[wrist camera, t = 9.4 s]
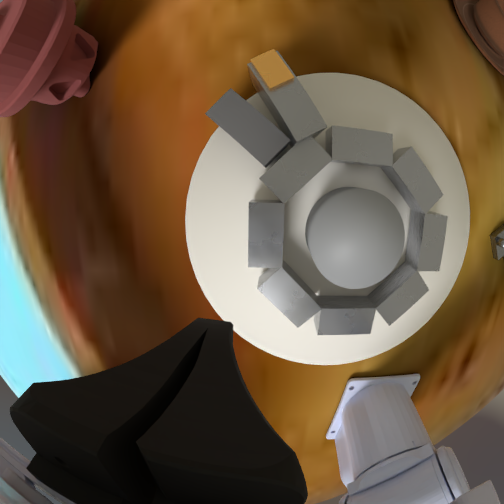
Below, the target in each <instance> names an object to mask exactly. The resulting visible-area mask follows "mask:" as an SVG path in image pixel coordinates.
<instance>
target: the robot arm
mask: <svg viewBox="0 0 504 504" xmlns="http://www.w3.org/2000/svg"><path fill="white" fill-rule="evenodd" d="M419 380H420V375H419V374H409V375H398V376H386V377H369V378H352V379H350V380H349V381H348V382H347V385H346V388H345V390H344V393H343V396H342V398H341V401H340V403H339V406H338V408H337V411H336V413H335V415H334V418H333V420H332V423H331V425H330V427H329V429H328V432H327V434H326V438H327V439H335V444H336V450H337V456H338V462H339V469H340V476H341V479H342V482H343V483H344V485H345V486H346V487H347V489H348V494H346V495H344V496H343V497H342V498H341V499H340V501H339V503H338V504H500V501H499V499H498V496H497V494H496V491H495V489H494V487H493V484H492V482H491V480H488V481H486V482H485V483H483V484H481V485H479V486H477V487H475V488H473V489H472V490H470V488H469V485H468V483H467V480H466V478H465V475H464V473H463V471H462V469H461V467H460V464H459V462H458V460H457V458H456V456H455V454H454V452H453V450H452V449H451V447H444V446H441V447H440V448H438V449H437V450H436V449H435V448H434V446H433V445H432V442H431V440H430V438H429V436H428V433H427V431H426V429H425V427H424V425H423V423H422V420H421V418H420V416H419V414H418V412H417V410H416V408H415V406H414V404H413V402H412V400H411V398H410V397H411V395H412V393H413V392H414V390H415V388H416V386H417V384H418V382H419ZM351 386H353V387H351ZM10 414H11V417H12V420H13V422H14V423H15V425H16V426H17V428H18V429H19V431H20V432H21V434H22V435H23V436H24V438H25V439H26V440H27V441H28V443H29V444H30V445H31V446H32V448H33V449H34V450H35V451H36V455H35V456H34V458H33V459H32V461H29V460H28V459H27V458H25V457H24V456H22V455H21V454H20V453H19V452H17V451H16V450H15V449H14V448H12V447H11V446H10V445H9V444H8V443H6V442H5V441H4V440H3V439H2V438H0V504H53V503H52V502H51V501H50V500H49V499H48V498H46V497H45V496H43V495H42V494H41V493H39V492H38V491H37V490H36V488H35V486H37V487H38V488H39V489H41V490H42V491H44V492H45V493H47V494H48V495H50V496H51V497H53V498H54V499H56V500H57V501H59V502H61V503H62V504H304V503H305V502H306V499H307V496H308V493H307V486H306V481H305V478H304V474H303V472H302V469H301V466H300V464H299V461H298V459H297V456H296V454H295V452H294V451H293V450H292V449H291V448H290V447H289V446H288V445H287V444H286V443H285V442H284V441H283V440H282V438H281V437H280V436H279V435H278V434H277V433H276V432H275V430H274V429H273V428H272V427H271V425H270V424H269V423H268V421H267V420H266V419H265V417H264V416H263V414H262V413H261V411H260V410H259V408H258V407H257V405H256V403H255V402H254V400H253V398H252V397H251V395H250V393H249V391H248V389H247V387H246V385H245V383H244V380H243V378H242V375H241V373H240V370H239V367H238V364H237V361H236V357H235V353H234V349H233V324H232V323H231V322H228V321H219V320H211V319H203V318H197V319H196V320H195V321H193V322H192V323H191V324H189V325H188V326H186V327H185V328H184V329H182V330H181V331H180V332H178V333H177V334H175V335H174V336H173V337H171V338H170V339H168V340H167V341H165V342H164V343H162V344H160V345H159V346H157V347H155V348H154V349H152V350H150V351H149V352H147V353H145V354H143V355H141V356H139V357H137V358H135V359H133V360H131V361H129V362H127V363H124V364H122V365H119V366H117V367H114V368H111V369H108V370H105V371H102V372H99V373H96V374H92V375H88V376H84V377H79V378H74V379H69V380H62V381H52V382H40V383H33V384H32V385H31V386H30V387H29V388H28V389H27V390H26V391H25V392H24V393H23V394H22V395H21V397H20V398H19V399H18V400H17V401H16V402H15V403H14V404H13V405H12V406H11V407H10ZM34 485H35V486H34Z"/></svg>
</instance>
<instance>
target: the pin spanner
mask: <svg viewBox="0 0 504 504" xmlns="http://www.w3.org/2000/svg"><path fill="white" fill-rule="evenodd" d="M490 239H491V245H492V252H493V258H495V259H497V260H499V259H500V258H501V257H503V258H504V224H503V225H502V226H500V227H499V228H498V229H497V230H496V231H494V232H493V233H492V234H491V235H490Z"/></svg>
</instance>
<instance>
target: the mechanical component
mask: <svg viewBox="0 0 504 504" xmlns="http://www.w3.org/2000/svg"><path fill="white" fill-rule="evenodd" d="M75 17H76V6H75V3H74V1H73V0H3V1H2V2H1V3H0V117H9V116H11V115H14V114H15V113H17V112H18V111H20V110H21V109H22V108H23V107H24V106H25V105H26V104H27V103H28V102H29V101H30V100H34V101H38V102H40V103H45V104H50V105H57V104H60V103H62V102H64V101H66V100H67V99H69V98H70V97H71V96H72V95H74V96H77V97H83V96H85V95H86V94H87V92H88V91H89V89H90V78H89V74H90V72H91V70H92V68H93V65H94V63H95V59H96V56H97V47H98V42H97V41H96V40H95V38H94V37H93V36H92V35H91V34H89V33H87V32H85V31H84V30H82V29H81V28H79V27H77V26H76V25H74V22H75Z"/></svg>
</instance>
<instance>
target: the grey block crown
mask: <svg viewBox="0 0 504 504" xmlns="http://www.w3.org/2000/svg"><path fill="white" fill-rule="evenodd" d="M250 62H251V63H249V64H247V65H248V69H249V73H250V77H251V81H252V85H253V87H254V88H255V90H256V91H257V93H258V94H259V96H260V97H261V99H262V101H263V102H264V104H265V105H266V107H267V108H268V110H269V112H270V113H271V115H272V116H273V118H274V120H275V121H276V123H277V125H278V126H279V128H280V130H281V131H282V133H284V134H285V135H286V136H287V137H288V138H289V139H290V142H289V145H290V147H291V149H290V150H289V151H288V152H287V153H286V154H285V155H283V156H282V157H281V158H280V159H279V160H278V161H277V162H276V163H275V164H274V165H273V166H272V167H271V168H269V169H268V170H267V171H266V172H265V173H264V174H263V175H262V176H261V177H260V178H259V179H260V180H261V181H262V182H263V183H264V184H265V185H266V186H267V187H268V188H269V189H270V190H271V191H272V192H273V193H274V194H275V195H276V196H277V197H278V198H279V199H280V200H253V199H251V200H250V201H249V219H248V267H257V268H269V269H267V270H266V271H265V272H264V273H263V274H262V275H261V276H260V277H259V280H258V286H257V289H258V290H259V291H260V292H261V293H262V294H263V295H264V296H265V297H266V298H267V299H268V300H269V301H270V302H271V303H272V304H273V305H274V306H276V307H277V308H278V309H279V310H280V311H281V312H282V313H283V314H284V315H285V316H286V317H287V318H288V319H289V320H290V321H291V322H292V323H293V324H294V325H295V326H296V327H297V328H298V327H300V326H301V325H302V324H304V323H305V322H306V321H308V320H309V319H310V318H311V317H313V316H314V323H315V327H316V332H317V335H357V334H371V329H372V325H373V321H374V316H375V312H376V310H377V311H378V312H379V314H380V315H381V316H382V318H383V319H384V320H385V321H386V323H387V324H388V325H389V326H390V325H391V324H392V323H394V322H395V321H396V320H397V319H398V318H399V317H401V316H402V315H403V314H404V313H405V312H406V311H407V310H408V309H410V308H411V307H412V306H413V305H414V304H415V303H416V302H417V301H418V300H419V299H420V298H421V297H422V296H424V295H425V294H426V293H427V292H428V291H429V289H428V287H427V285H426V284H425V282H424V280H423V279H422V277H421V275H420V274H419V272H418V271H439V270H440V265H441V260H442V254H443V248H444V242H445V235H446V228H447V219H448V216H446V215H443V214H439V213H436V212H431V211H429V210H430V209H431V208H432V207H433V206H434V204H435V203H436V202H437V201H438V200H439V199H440V198H441V197H442V196H443V193H442V191H441V190H440V188H439V186H438V185H437V183H436V181H435V180H434V178H433V177H432V175H431V174H430V172H429V171H428V169H427V168H426V166H425V165H424V163H423V162H422V160H421V159H420V157H419V156H418V154H417V153H416V152H415V150H414V149H413V148H412V146H411V147H405V148H400V149H398V150H396V151H395V152H394V153H393V134H390V133H385V132H379V131H372V130H366V129H358V128H351V127H342V126H331V127H330V128H329V129H327V130H326V151H325V150H324V149H323V148H322V147H321V146H320V145H319V144H318V142H317V141H316V140H315V139H314V138H315V137H317V136H318V135H319V134H320V133H321V132H322V131H323V130H325V129H326V128H327V125H326V123H325V121H324V120H323V118H322V116H321V115H320V113H319V111H318V110H317V108H316V106H315V105H314V103H313V102H312V100H311V98H310V97H309V95H308V94H307V92H306V91H305V89H304V88H303V86H302V85H301V83H300V82H299V80H298V79H297V77H296V76H295V74H294V73H293V71H292V70H291V69H290V67H289V66H288V64H287V63H286V62H285V60H284V59H283V57H282V56H281V55H280V53H279V52H278V51H275V49H272V50H270V51H268V52H265V53H263V54H261V55H259V56H256V57H254V58H252V59H250ZM329 162H337V163H348V164H358V165H367V166H375V167H380V168H381V169H382V170H383V172H384V173H385V174H386V175H387V177H388V178H389V179H390V181H391V182H392V183H393V185H394V186H395V188H396V189H397V190H398V192H399V193H400V194H401V196H402V197H403V199H404V200H405V202H406V203H407V205H408V206H409V207H410V209H411V215H410V225H409V234H408V242H407V249H406V256H405V262H404V263H403V264H401V265H400V266H399V267H398V268H397V269H396V270H395V271H394V272H393V273H392V274H391V275H390V276H389V277H388V278H386V279H385V280H384V281H383V282H382V283H381V284H380V285H379V286H378V287H376V288H375V289H374V290H373V291H372V292H371V293H370V294H368V295H367V296H317V295H316V294H315V293H314V292H313V291H312V289H311V288H310V287H309V286H308V285H307V284H306V283H305V282H304V281H303V280H302V279H301V278H300V277H299V276H298V275H297V274H296V273H295V272H294V271H293V270H292V269H291V267H290V266H289V265H288V264H287V263H286V262H285V261H284V260H283V237H284V208H285V203H286V202H287V201H288V200H289V199H290V198H291V197H293V196H294V195H295V194H296V193H297V192H298V191H299V190H300V189H301V188H302V187H303V186H304V185H305V184H307V183H308V182H309V181H310V180H311V179H312V178H313V177H314V176H315V175H316V174H317V173H319V172H320V171H321V170H322V169H323V168H324V167H325V166H326V165H327V164H328V163H329Z"/></svg>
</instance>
